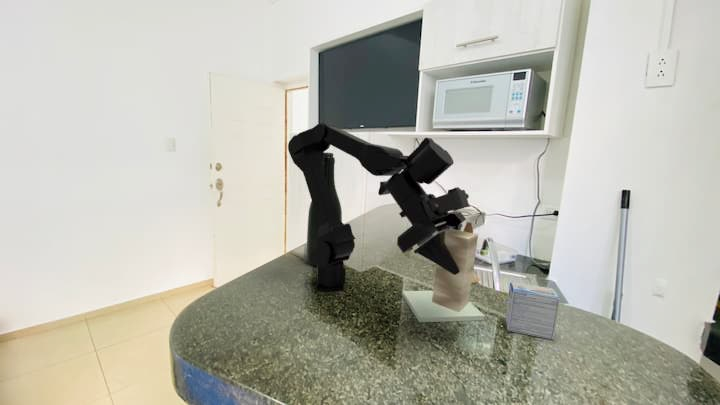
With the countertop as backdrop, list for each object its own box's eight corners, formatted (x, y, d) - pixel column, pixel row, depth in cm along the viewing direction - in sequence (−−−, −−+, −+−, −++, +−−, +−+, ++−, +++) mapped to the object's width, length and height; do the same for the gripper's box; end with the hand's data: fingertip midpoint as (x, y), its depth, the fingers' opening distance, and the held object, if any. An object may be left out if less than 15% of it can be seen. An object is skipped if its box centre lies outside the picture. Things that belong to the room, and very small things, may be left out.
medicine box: (547, 329, 59) (554, 288, 58) (554, 341, 55) (561, 297, 54) (504, 320, 62) (509, 280, 61) (507, 331, 58) (513, 289, 57)
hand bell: (443, 272, 87) (448, 219, 85) (468, 272, 89) (474, 219, 87) (457, 284, 79) (463, 226, 77) (485, 283, 81) (492, 226, 79)
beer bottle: (340, 256, 96) (345, 153, 91) (340, 268, 86) (346, 153, 81) (308, 255, 95) (311, 151, 91) (304, 267, 85) (307, 151, 80)
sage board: (419, 322, 59) (419, 317, 59) (402, 295, 71) (402, 291, 71) (484, 320, 61) (484, 315, 61) (456, 294, 73) (457, 290, 73)
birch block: (431, 302, 54) (440, 232, 52) (442, 293, 58) (451, 228, 56) (459, 312, 51) (468, 238, 49) (468, 302, 55) (478, 234, 53)
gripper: (420, 172, 46) (486, 259, 41) (461, 172, 61) (512, 235, 56) (374, 214, 52) (427, 294, 47) (422, 204, 66) (465, 264, 62)
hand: (462, 269), depth 53 cm, fingers closed on birch block, 5 cm apart
